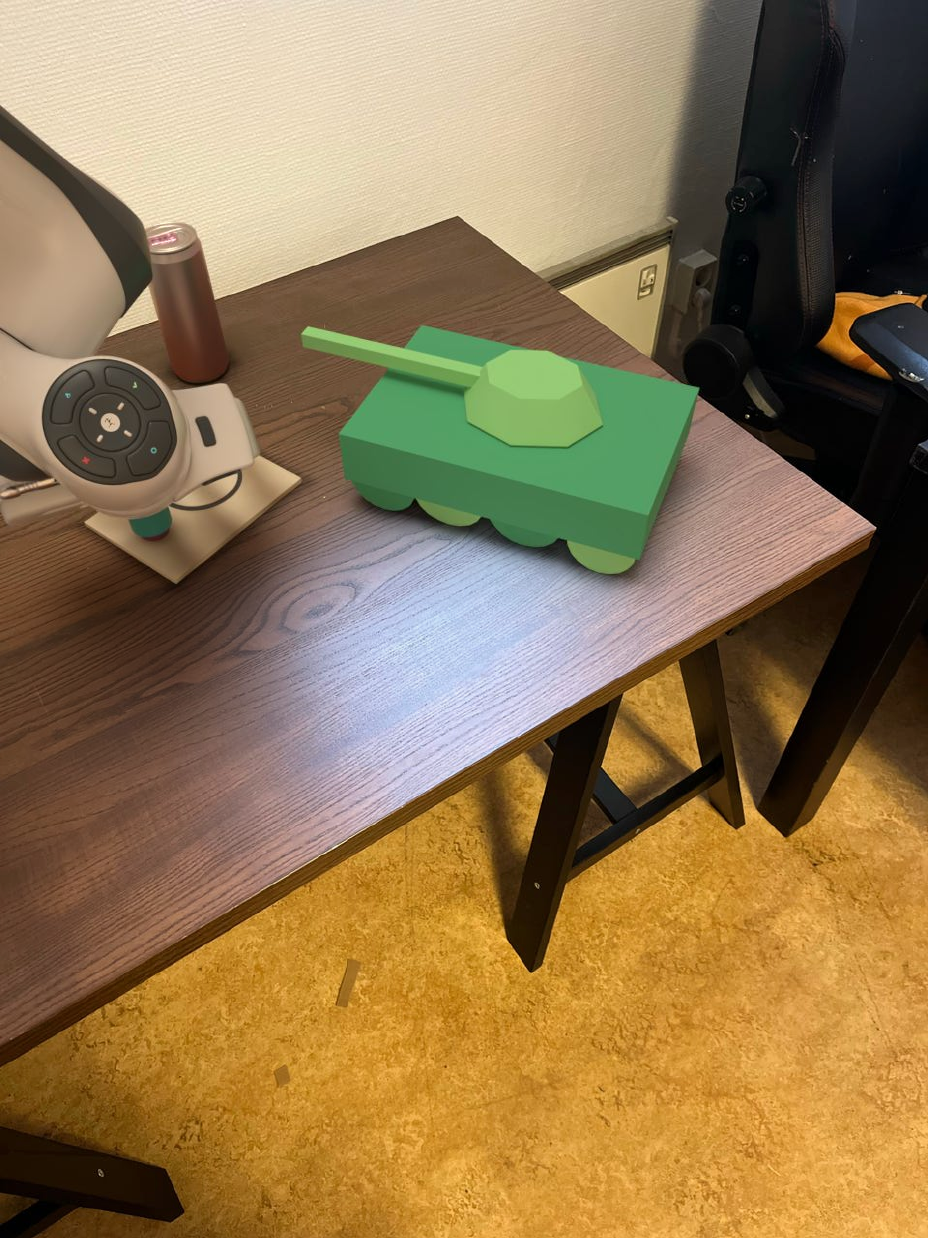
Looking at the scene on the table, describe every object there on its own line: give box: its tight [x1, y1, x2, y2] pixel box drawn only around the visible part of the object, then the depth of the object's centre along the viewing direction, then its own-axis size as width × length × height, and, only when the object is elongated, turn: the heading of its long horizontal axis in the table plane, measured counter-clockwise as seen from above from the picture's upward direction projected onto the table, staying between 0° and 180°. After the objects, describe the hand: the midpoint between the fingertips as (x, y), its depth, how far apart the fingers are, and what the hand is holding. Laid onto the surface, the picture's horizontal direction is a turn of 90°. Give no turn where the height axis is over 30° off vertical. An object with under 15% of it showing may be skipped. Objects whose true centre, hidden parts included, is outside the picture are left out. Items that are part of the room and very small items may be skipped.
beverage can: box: [145, 221, 230, 384], centre depth 95 cm, size 6×6×15 cm
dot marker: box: [128, 507, 172, 541], centre depth 80 cm, size 4×4×11 cm
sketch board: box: [83, 455, 303, 585], centre depth 87 cm, size 16×12×1 cm
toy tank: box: [300, 324, 700, 575], centre depth 85 cm, size 18×12×35 cm
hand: (135, 475), depth 80 cm, fingers closed on dot marker, 4 cm apart
